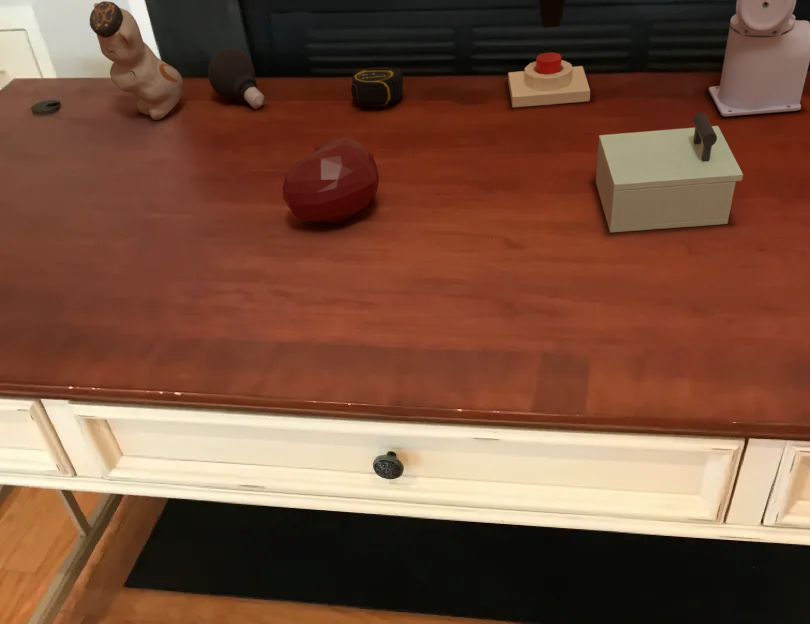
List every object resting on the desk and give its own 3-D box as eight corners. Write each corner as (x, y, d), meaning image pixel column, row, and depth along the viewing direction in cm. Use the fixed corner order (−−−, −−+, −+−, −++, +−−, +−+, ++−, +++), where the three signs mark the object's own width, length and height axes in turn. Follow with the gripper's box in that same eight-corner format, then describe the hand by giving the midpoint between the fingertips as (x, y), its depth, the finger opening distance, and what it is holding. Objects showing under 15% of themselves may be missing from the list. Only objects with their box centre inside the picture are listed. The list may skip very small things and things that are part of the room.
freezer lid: (717, 131, 98) (723, 96, 95) (742, 181, 91) (749, 144, 88) (598, 141, 99) (601, 107, 96) (613, 190, 91) (616, 155, 89)
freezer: (704, 173, 102) (711, 132, 98) (727, 224, 94) (735, 182, 91) (595, 181, 102) (598, 141, 99) (609, 232, 95) (613, 191, 91)
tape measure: (404, 90, 124) (402, 61, 121) (401, 111, 119) (399, 82, 116) (355, 93, 124) (352, 65, 122) (351, 114, 120) (347, 85, 117)
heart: (408, 188, 103) (338, 186, 108) (393, 120, 98) (319, 121, 103) (358, 242, 97) (285, 238, 101) (338, 173, 91) (262, 172, 96)
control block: (582, 76, 122) (583, 53, 120) (589, 101, 116) (591, 77, 114) (508, 82, 122) (508, 59, 120) (512, 107, 117) (512, 84, 115)
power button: (559, 65, 118) (560, 51, 117) (562, 75, 116) (562, 60, 115) (535, 67, 119) (535, 53, 117) (537, 77, 117) (537, 62, 115)
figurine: (112, 115, 127) (74, -4, 115) (180, 96, 129) (149, -22, 118) (129, 137, 121) (90, 15, 110) (199, 116, 124) (168, -5, 112)
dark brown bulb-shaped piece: (246, 86, 118) (202, 40, 121) (238, 129, 124) (195, 85, 126) (284, 79, 122) (240, 35, 125) (274, 122, 127) (232, 79, 130)
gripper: (515, -117, 108) (514, 8, 118) (524, -83, 99) (523, 49, 109) (574, -123, 108) (568, 2, 118) (589, -89, 98) (582, 44, 108)
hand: (550, 25), depth 113 cm, fingers closed
